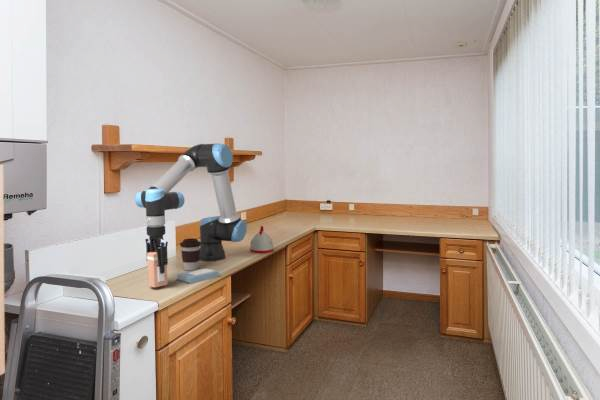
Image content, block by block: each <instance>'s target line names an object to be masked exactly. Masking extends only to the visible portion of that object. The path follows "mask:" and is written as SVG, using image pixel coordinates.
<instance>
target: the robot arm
mask: <svg viewBox="0 0 600 400" xmlns="http://www.w3.org/2000/svg"><path fill="white" fill-rule="evenodd" d="M233 160H234V156H233V152H232V149H231V147H229V146H228V145H227V144H224V143H198V144H195V145H193V146H192V147H190V148H188V149H187V150H185V151H184V152H183V153H181V155H180V156H179V157H178V158H177V161H176V162H175V163H174V164H173V165H172V166H171V167H170V168H169V169H167V171H166V172H164V174H163V175H161V176H160V177H159V178H158V179H157V180H156V181H155V182H153V184H152V185H150V187H148V189H146V190H142V191H138V192H136V194H135V197H134V202H135V204H136V206H137V207H139V208H142V209H145V217H146V219H145V223H146V235H147V236H148V237H149V238H145V239H144V240H145V246H146V247H145V248H146V254H147V253H149V252H157V256H158V264H159V265H157V266H158V282H160V281H164V280H165V276H164V272H165V270H164V266H165V265H167V266H168V264H169V263H168V262H169V261H168V258H169V257H168V243H169V242H168V241H165V239H164V236H165V235H166V226H165V225H166V215H165V214H166V213H165V212H166V211H168V210H177V209H180V208H182V207H183V206H184V204H185V203H186V202H185V195H184V194H183V193H182V192H180V191H172V189H174V187H175V186H177V184H178V183H179V182H180V181H181V180H182V179H183V178H184V177H186V175H188V173H189V172H193V171H194V170H195V169H197V168H206V171H207V173H208V174H210V175H211V180H212V182H213V183H212V184H213V188H214V192H215V197H216V202H217V206H218V211H219V214H220V215H215V216H208V217H203V218H201V219H200V221H199V236H200V237H199V238H200V240H199V242H201V245H200V246H199V249H200V256H199V261H203V262H213V261H214V262H216V261H221V260H225V259H226V252H225V249H224V246H223V242H224V241H225V242H232V243H236V242H237V243H239V242H241V241H243V240H244V238H245V237H246V234H247V229H248V226H247V223H246V221H245V220H242V219H241V215H240V213H238V212H237V208H236V205H235V204H236V203H235V197H234V195H233V190H232V185H231V184H232V183H231V180H230V175H229V174H230V173H229V171H230V169H231V165H232V164H233V162H234V161H233Z"/></svg>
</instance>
